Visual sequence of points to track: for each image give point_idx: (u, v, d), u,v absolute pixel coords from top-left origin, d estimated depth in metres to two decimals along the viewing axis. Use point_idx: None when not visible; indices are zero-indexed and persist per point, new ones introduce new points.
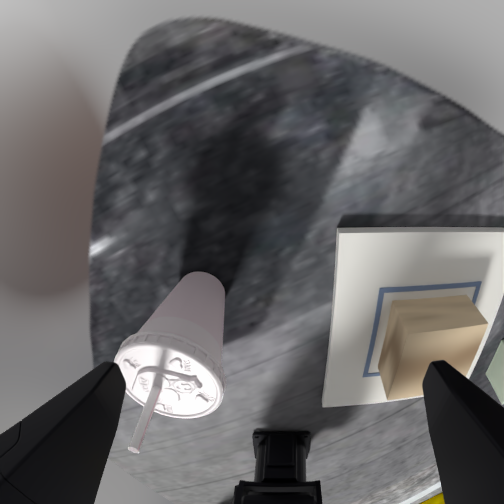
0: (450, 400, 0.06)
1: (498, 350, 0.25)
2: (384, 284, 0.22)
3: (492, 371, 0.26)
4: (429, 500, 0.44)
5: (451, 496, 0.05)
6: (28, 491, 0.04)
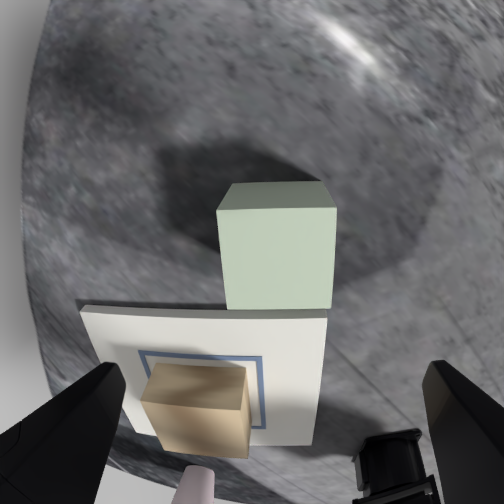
0: (450, 400, 0.06)
1: None
2: None
3: None
4: None
5: (451, 496, 0.05)
6: (27, 490, 0.04)
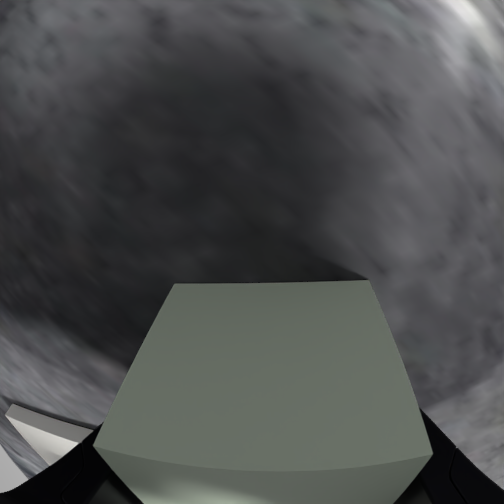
0: None
1: None
2: None
3: None
4: None
5: None
6: None
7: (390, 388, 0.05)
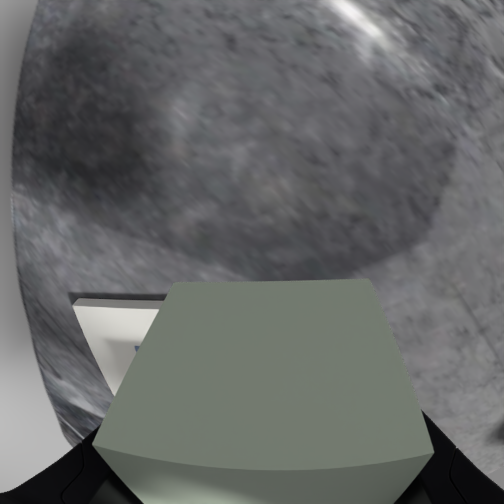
0: None
1: None
2: None
3: None
4: None
5: None
6: None
7: (391, 386, 0.05)
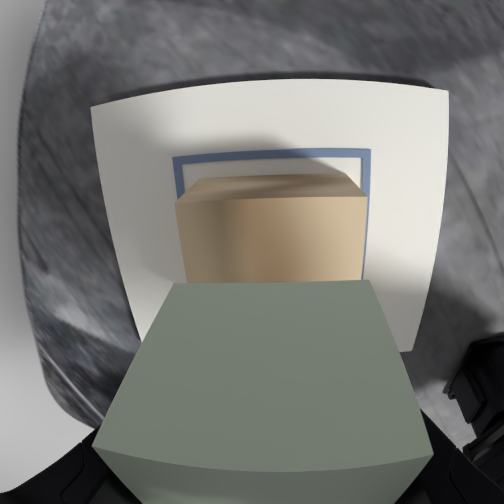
0: None
1: None
2: None
3: None
4: None
5: None
6: None
7: (390, 388, 0.05)
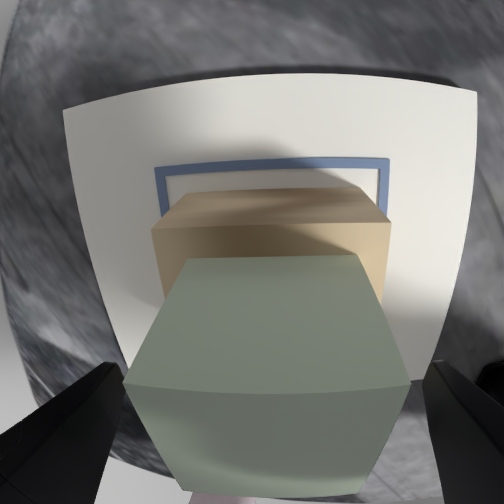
0: (450, 400, 0.06)
1: None
2: None
3: None
4: None
5: (451, 496, 0.05)
6: (28, 491, 0.04)
7: (373, 333, 0.06)
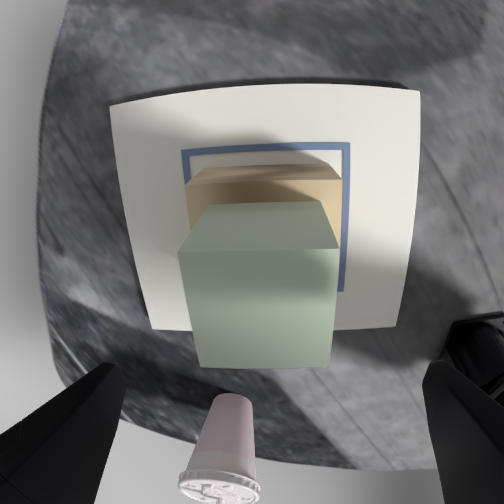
0: (450, 400, 0.06)
1: None
2: None
3: None
4: None
5: (451, 496, 0.05)
6: (28, 490, 0.04)
7: (321, 231, 0.11)
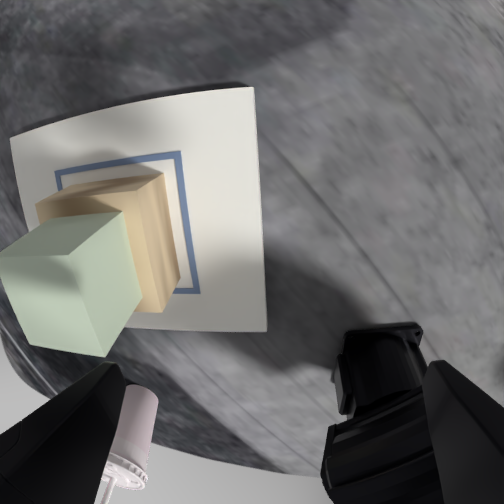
0: (450, 400, 0.06)
1: None
2: None
3: None
4: None
5: (451, 496, 0.05)
6: (27, 490, 0.04)
7: (79, 240, 0.12)
